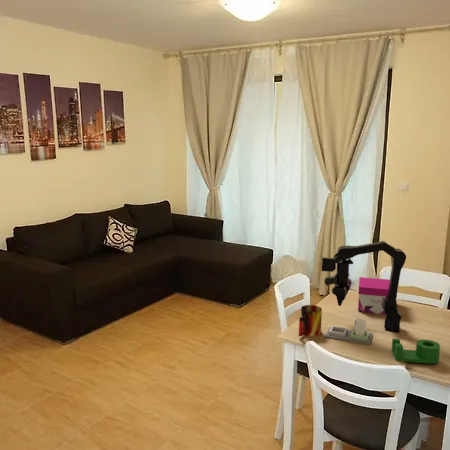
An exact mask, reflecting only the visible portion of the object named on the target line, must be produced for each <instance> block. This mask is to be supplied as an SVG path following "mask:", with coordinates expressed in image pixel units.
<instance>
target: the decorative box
mask: <svg viewBox="0 0 450 450" xmlns="http://www.w3.org/2000/svg"><path fill="white" fill-rule="evenodd" d="M389 281H390V279H386V278H385V279H384V278H376V277H375V278H374V277H361V276H360V277H359V279H358V304H357V305H358V308H357V312H358V313H359V312H360V313H367V314H368V313H369V314H375V315H384V316H387V315H386V314H385V312H384V310H383V307H382V305H381V304H382V297H384V298H386V296H387V293H388V287H389ZM397 296H398V295H397ZM397 296H396V299H397V298H398V297H397Z"/></svg>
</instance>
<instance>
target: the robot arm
mask: <svg viewBox="0 0 450 450" xmlns="http://www.w3.org/2000/svg"><path fill="white" fill-rule="evenodd" d="M381 251H382V252H384V253H386V255H388V256H390V260H391V270H390V275H389V276H390V277H389V280H390V281H389V287H388V293H387V296H386V298H384V297H382V304H381V305H382V307H383V310H384V312H385V314H386V315H385V316H386V317H385V318H384V328H383V329H384V330H385V331H386V332H392V333H393V332H394V333H400V330H401V326H400V325H401V319H402V315H401V313H400V311H399V309H398V302H397V298H396V296H398V289H399V284H400V277H401V272H402V269H403V267H404V265H405V263H406V260H407V255H406V253H405V252H404V251H403V249H400V248H396V247H394V246H392V245H390V244H389V243H387V242H386V241H385V240H381V241H377V242H371V243H365V244H360V245H340V246H339V247H338V249H337V250H336V253H335V254H334V255H333V257H324V256H323V257H321V263H320V265H321V269H320V271H321V272H327V273H328V272H329V273H330V272H331V273H332V272H335V271H336V274H335V275H331V276H328V277H325V278H324V279H323V281H324V284H325V286H327V287H329V286H331V285H334V286H333V287H332V289H331V294H333V295H334V296H335V297H336V301H337V306H339V307H341V306H342V304H343V302H344V300H345V299H346V297H347V295H348V293H349V291H350V288H351V286H352V279H350V278H349V277H350V272H349V271H350V265H354V260H352V259H353V258H354V257H356V256H358V255H365V254H370V253H371V254H372V253H377V252H381Z"/></svg>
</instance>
